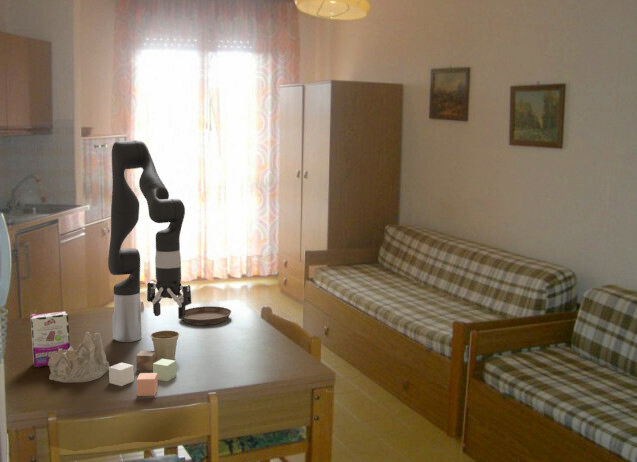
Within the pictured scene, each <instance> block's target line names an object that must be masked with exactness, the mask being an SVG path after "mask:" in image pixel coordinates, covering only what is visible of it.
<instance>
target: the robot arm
mask: <svg viewBox="0 0 637 462" xmlns="http://www.w3.org/2000/svg"><path fill="white" fill-rule="evenodd" d="M111 147H112V148H111V173H112V177H111V178H112V187H111V188H112V189H111V192H112V193H111V204H110V206H111V208H110V240H109V249H108V255H107V256H108V257H107V258H108V259H107V265H108V266H107V267H108V268H107V269H108V271H109V273H110V274H111V275H113V276H122V275H129V276H128V277H127V278H126V279H124V280H122V281H121V282H120V281H119V282H118V283H116V284H115V285H114V286H113V307H114V308H113V310H114V311H113V313H112V315H111V319H112V320H111V321H112V324H111V325H112V340H115V341H116V342H120V343H131V342H136V341H139V340H141V339H142V306H141V253H140V251H139V249H137V248H134V247H133V248H130V247H129V248H122V245H123V243H124V241H125V240H126V238H127V237H128V236H129V235H130V233H131V232H132V231H133V230H134V228H135V227H136V226H137V224H138V222H139V218H140V216H139V215H140V201H139V198H138V196H137V195H136V193H135V192H134V191H133V189H132V188H131V186H130V185H129V184H128V182H127V180H126V177H125V171H126V170H133V169H142V173H141V174H140V178H139V182H138V186H139V190H140V192H141V194H142V195H143V196H144V198H145V200H146V203H147V208H148V217H149V218H150V220H152V221H153V222H154V223H157V224H163V223H164V224H166V223H169V225H168V226H167V227H166V228H165V229H162V230H159V231H157V232H156V233H155V259H154V260H155V261H154V262H155V281H156V282H155V281H154V280H153V281H149V282H147V287H146V288H147V289H146V290H147V291H146V302H150V303H152V309H153V315H154V316H155V317H159V316H160V315H161V300H162V299H173V301H174V302H175V303H176V304H177V305H178V307H177V308H178V310H177V311H178V312H177V314H178V316H177V318H178V319H179V320H183V318H184V317H185V315H186V312H185V310H186V306H189V305H191V304H192V293H191V292H192V291H191V290H192V289H191V285H190V284H186V285H182V283H181V280H182V263H181V262H182V258H181V257H182V256H181V251H180V249H181V247H180V245H181V243H180V235H181V231H182V227H183V222H184V219H185V215H186V208H185V204H184V202H183V201H182V200H181V199H179V198H169V197H170V192H169V191H168V188H167V187H166V186H165V184H164V182H163V181H162V180H161V178H160V176H159V174H158V172H157V169H156V166H155V163H154V161H153V158H152V156H151V153H150V151H149V149H148V147H147V145H146V143H145V142H143V141H142V140H140V139H139V140H138V139H137V140H135V139H132V140H121V141H120V140H118V141H116V142H114V143H112V146H111ZM152 221H151V222H152ZM156 290H157V293H156Z"/></svg>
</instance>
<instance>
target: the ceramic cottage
mask: <svg viewBox="0 0 637 462" xmlns="http://www.w3.org/2000/svg"><path fill="white" fill-rule="evenodd" d="M93 337H94V338H93V339H92V335H91V332H90V331H86V332H85V334H84V339H81V342H80V344H79V345H78V347H77V349H74V347H73V345H70V348H69V349H68V350H67V351H66V352H65V353H63V349H62V348H61V349H58V353H51V356H50V359H49V362H48V366H47V367H49V371H50V373H49V377H48V379H49V380H50V381H54V382H59V383H86V382H92V381H95V380H97V379H100V378H102V377H103V376H104V375H105V374H106V373H107V372H109V367H111V366H110V362H109V361H108V360H107V355H106V353H105V351H104V350H105V349H104V347H103V339H102V336H101V333H100V332H95V333H94V336H93Z"/></svg>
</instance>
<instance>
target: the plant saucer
mask: <svg viewBox="0 0 637 462" xmlns="http://www.w3.org/2000/svg"><path fill="white" fill-rule="evenodd" d="M185 312H186V315H185V317H184V318H183V319H182V321H184V323H187V324H190V325H194V326H196V325H197V326H211V325H216V324H220V323H223V322H225V321H226V320H227V319H228V318H229V317H230V315H231V314H232V310H231V309H229V308H226V307H224V306H223V307H222V306H213V305H212V306H207V305H206V306H197V307H190V308H187V309H186V308H185Z"/></svg>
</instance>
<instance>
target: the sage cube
mask: <svg viewBox="0 0 637 462" xmlns="http://www.w3.org/2000/svg"><path fill="white" fill-rule="evenodd" d="M152 373H157V379H158V381H163V382H169V381H171V380H173V379H174V378H175V377H177V360H175V359H174V360H168V359H161V360H159V361H157V362H155V363H153V371H152Z"/></svg>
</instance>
